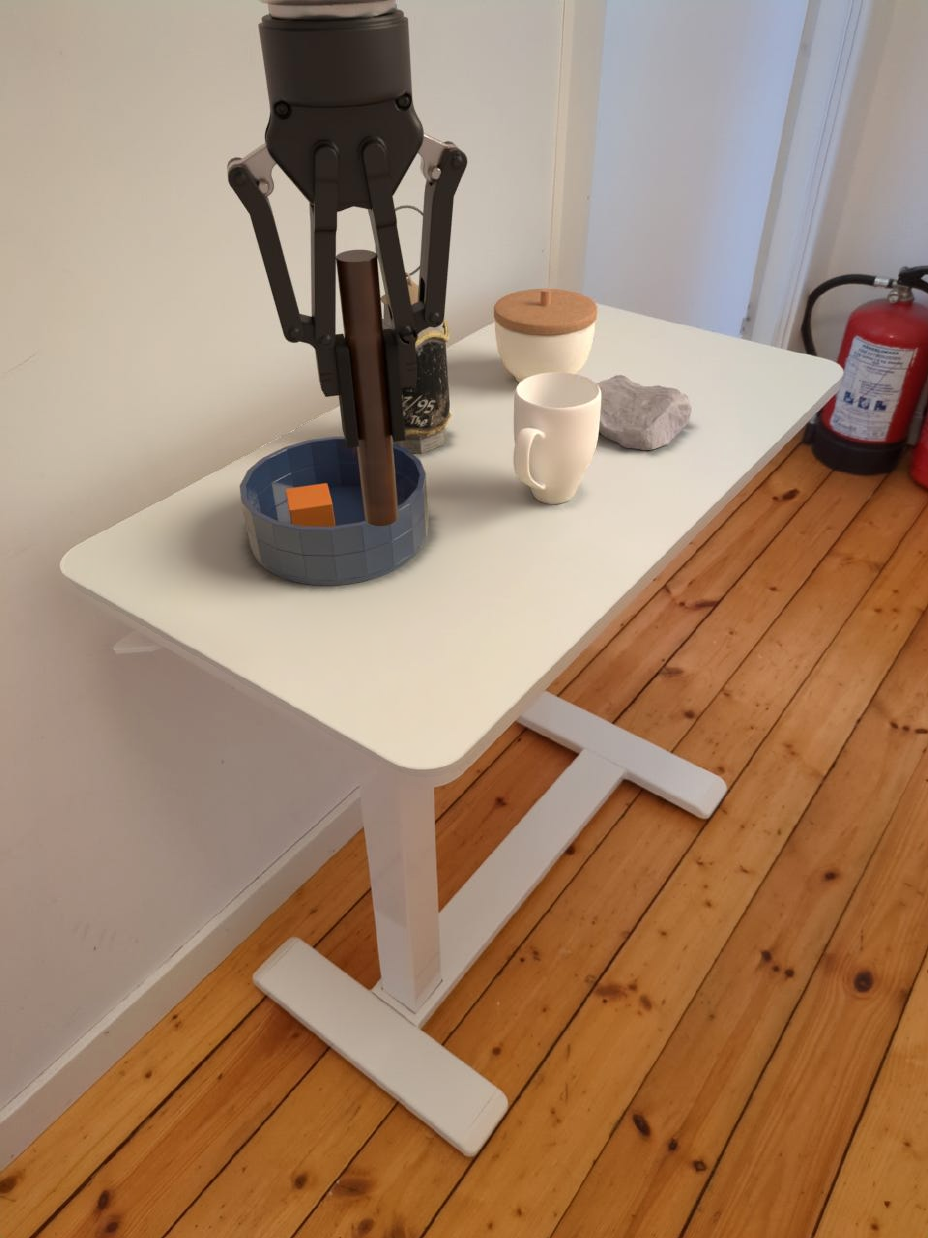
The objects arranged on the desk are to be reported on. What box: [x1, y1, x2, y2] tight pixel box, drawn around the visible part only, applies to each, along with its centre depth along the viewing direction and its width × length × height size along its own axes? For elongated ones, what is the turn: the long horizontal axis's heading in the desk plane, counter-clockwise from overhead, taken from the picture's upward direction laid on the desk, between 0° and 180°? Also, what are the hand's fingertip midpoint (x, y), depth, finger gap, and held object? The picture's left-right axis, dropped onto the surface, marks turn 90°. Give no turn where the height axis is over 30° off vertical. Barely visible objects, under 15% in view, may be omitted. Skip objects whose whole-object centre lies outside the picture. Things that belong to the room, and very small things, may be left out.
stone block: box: [596, 374, 692, 451], centre depth 103 cm, size 12×5×10 cm
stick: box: [336, 249, 399, 526], centre depth 58 cm, size 2×2×18 cm
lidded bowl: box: [493, 287, 598, 384], centre depth 111 cm, size 13×13×11 cm
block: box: [286, 483, 335, 527], centre depth 85 cm, size 4×4×4 cm
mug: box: [513, 372, 601, 505], centre depth 87 cm, size 12×8×11 cm
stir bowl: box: [239, 435, 430, 586], centre depth 86 cm, size 17×17×6 cm
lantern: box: [374, 204, 452, 454], centre depth 94 cm, size 9×8×25 cm
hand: (373, 434), depth 59 cm, fingers closed on stick, 2 cm apart
